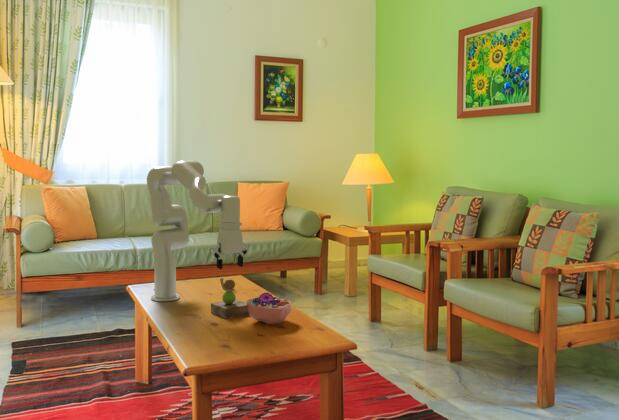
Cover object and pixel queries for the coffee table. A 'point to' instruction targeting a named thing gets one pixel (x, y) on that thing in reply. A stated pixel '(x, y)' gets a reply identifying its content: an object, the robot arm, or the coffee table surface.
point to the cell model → (269, 308)
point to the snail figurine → (228, 291)
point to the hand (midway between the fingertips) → (229, 267)
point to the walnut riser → (229, 309)
